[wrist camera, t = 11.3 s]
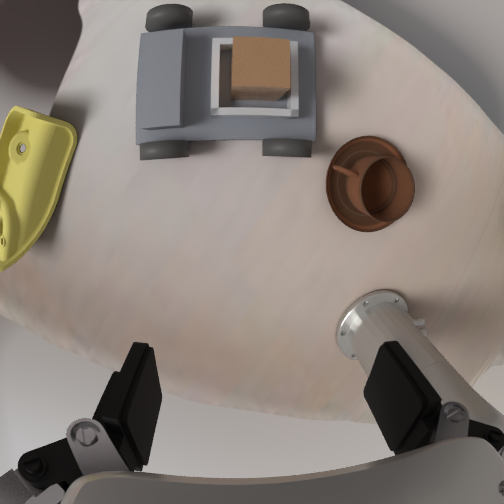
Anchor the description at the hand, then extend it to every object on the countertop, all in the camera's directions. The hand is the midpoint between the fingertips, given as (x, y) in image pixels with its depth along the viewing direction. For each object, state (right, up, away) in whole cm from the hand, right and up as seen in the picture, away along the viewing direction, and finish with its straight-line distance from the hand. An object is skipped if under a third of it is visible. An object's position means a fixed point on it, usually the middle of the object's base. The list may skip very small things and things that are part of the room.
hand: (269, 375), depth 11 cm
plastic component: (-31, +14, +19) cm, 40 cm away
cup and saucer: (+14, +14, +24) cm, 30 cm away
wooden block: (0, +24, +17) cm, 29 cm away
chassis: (-4, +24, +18) cm, 30 cm away
